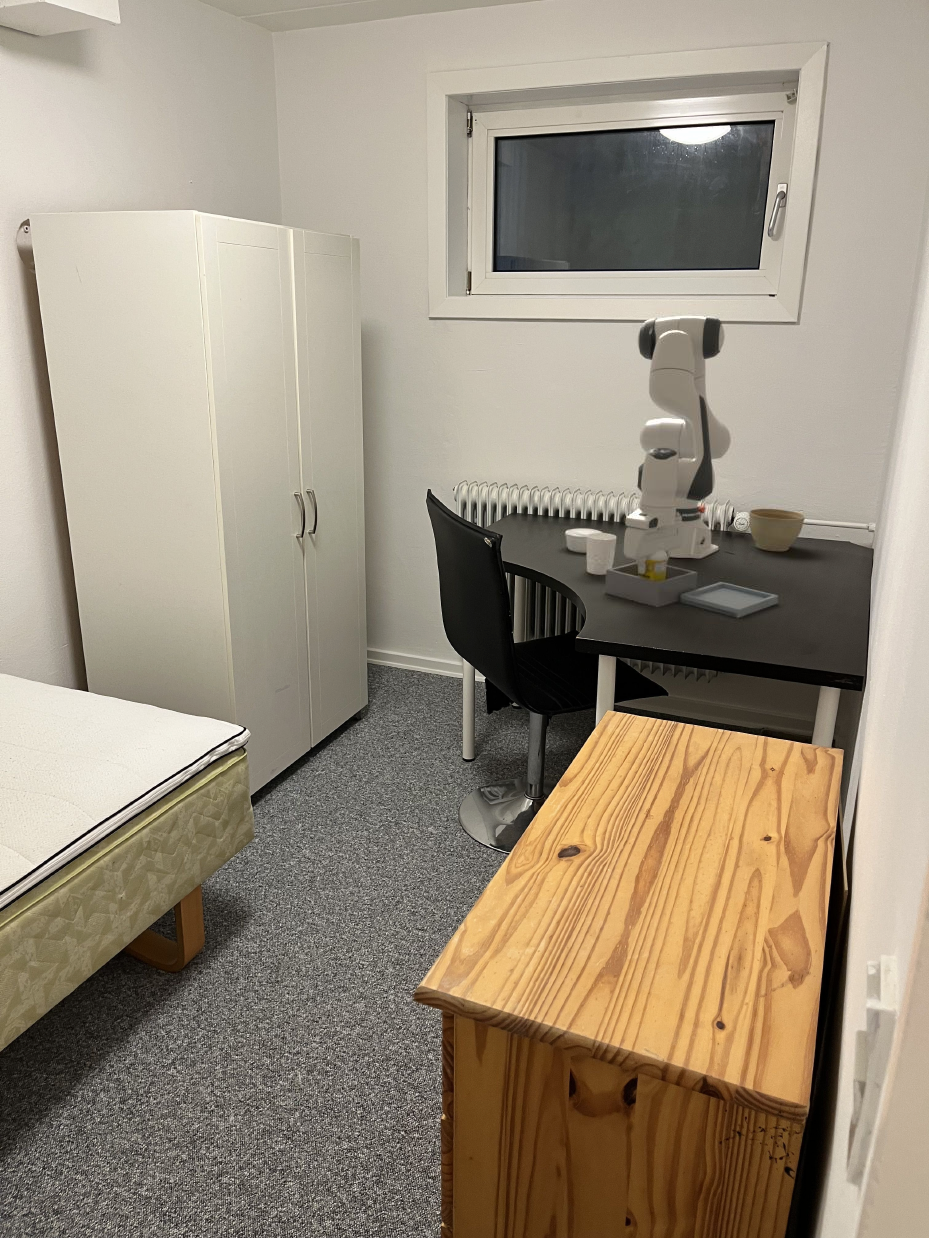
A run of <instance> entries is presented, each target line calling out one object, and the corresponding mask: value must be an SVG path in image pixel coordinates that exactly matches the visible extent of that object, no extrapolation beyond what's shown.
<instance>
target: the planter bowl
mask: <svg viewBox="0 0 929 1238" xmlns="http://www.w3.org/2000/svg"><path fill="white" fill-rule="evenodd" d="M748 515H749V516H748V517H749V520H748V521H749V522H748V523H749V530H750V534H751V536H752V538H753V540H754V542H755V546H756V548H758V549H760V550H765V551H767V552H786V551H788V550H789V549H790V546H791V545H792V544H793V543H794V542H795V541H796V539H798V537H799V535H800V534H801V531H802V528H803V525H804V521H805V519H806V516H805V515H804V514H802V513H800V512H797V511H791V510H786V509H777V508H755V509H750V510H749V512H748Z"/></svg>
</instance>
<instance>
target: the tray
mask: <svg viewBox="0 0 929 1238" xmlns="http://www.w3.org/2000/svg"><path fill="white" fill-rule="evenodd" d="M778 602H779V595H777V594H773V593H768V592H765V591H761V590H756V589H751V588H749V587H744V586H740V585H735V584H732V583H727V582H723V581H719V582H717V583H713V584H710V585H707V586H703V587H700V588H696V590H693V591H690V592H687V593H684V594H681V598H680V600H679V603H683V604H685V605H689V606H692V607H696V608H700V609H703V610H707V611H711V612H716V613H718V614H721V615H727V616H730V617H733V618H738V619H739V618H742V617H744V616H746V615H749V614H752V613H755V612H758V611H761V610H764V609H765V608H769V607H771V606H774V605H778V604H779V603H778Z"/></svg>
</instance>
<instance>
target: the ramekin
mask: <svg viewBox="0 0 929 1238" xmlns="http://www.w3.org/2000/svg"><path fill="white" fill-rule="evenodd" d="M591 533H603V532H602V531H600V530H598V529H593V528H581V527H580V528H572V529H567V530H566V531H565V533H564V536H565V538H566V546H567V548H568V550H569V551H571V552H574V553H583V554H584V553H585V554H587V535H588V534H591Z"/></svg>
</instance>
